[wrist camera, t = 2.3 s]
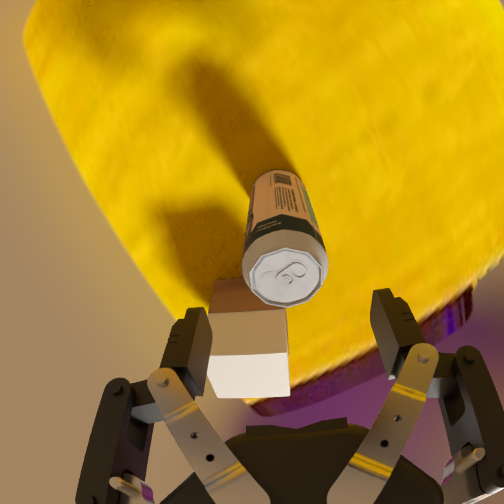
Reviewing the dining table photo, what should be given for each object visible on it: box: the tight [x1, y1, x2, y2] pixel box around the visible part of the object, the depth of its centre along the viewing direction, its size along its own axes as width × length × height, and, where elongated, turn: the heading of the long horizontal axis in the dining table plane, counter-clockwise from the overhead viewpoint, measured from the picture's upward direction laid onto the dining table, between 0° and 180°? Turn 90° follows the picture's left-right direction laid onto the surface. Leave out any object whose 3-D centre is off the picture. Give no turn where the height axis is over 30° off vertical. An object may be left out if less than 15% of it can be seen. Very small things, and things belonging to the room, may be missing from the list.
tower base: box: [208, 278, 289, 355], centre depth 30 cm, size 7×7×5 cm
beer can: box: [242, 170, 328, 308], centre depth 20 cm, size 5×5×12 cm
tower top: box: [207, 309, 290, 398], centre depth 26 cm, size 7×7×5 cm
